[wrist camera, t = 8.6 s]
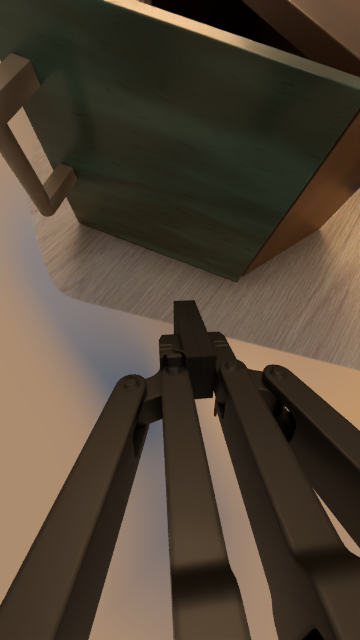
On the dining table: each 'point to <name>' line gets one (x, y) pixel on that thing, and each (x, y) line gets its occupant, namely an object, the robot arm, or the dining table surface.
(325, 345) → the dining table surface
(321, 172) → the cupboard
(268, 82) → the door
